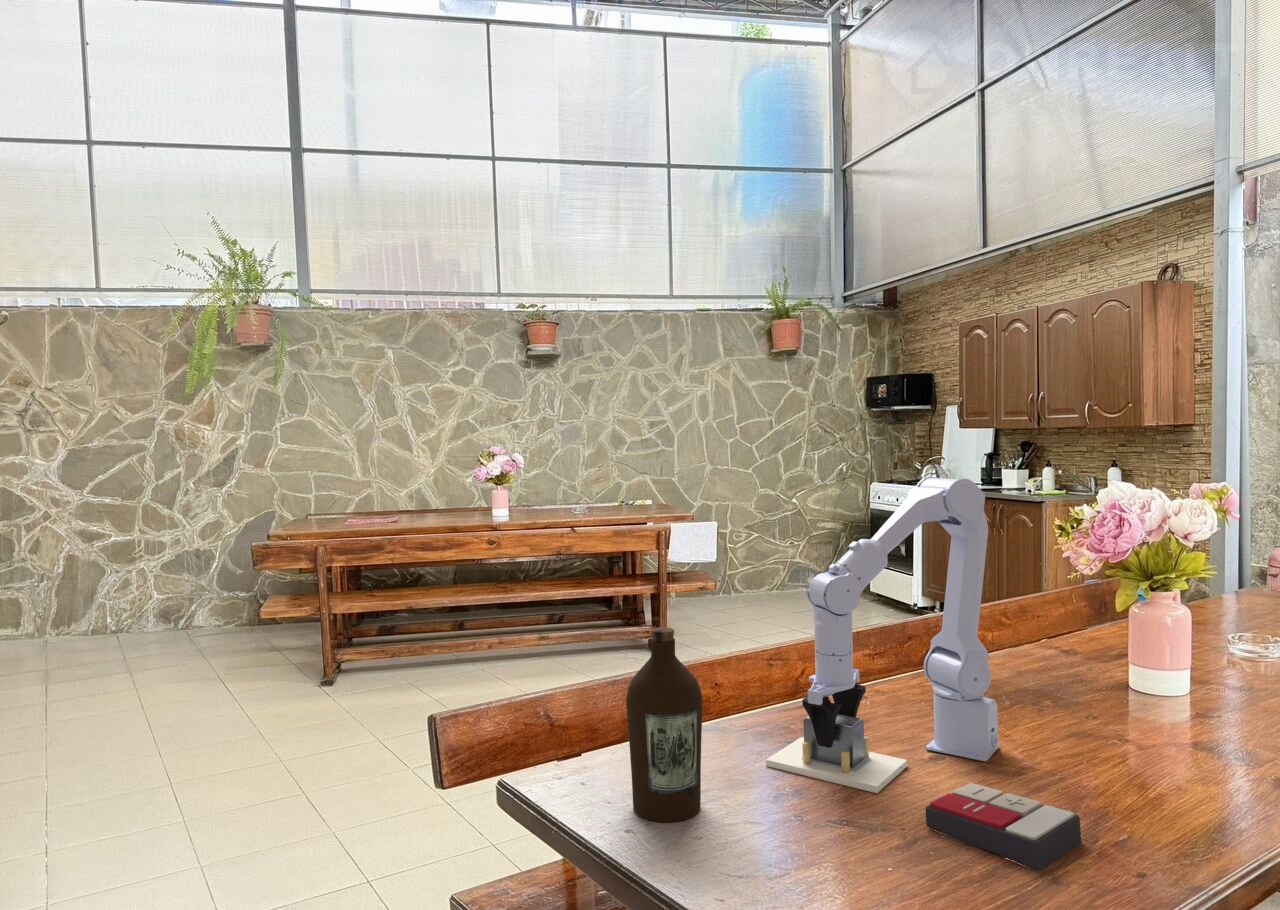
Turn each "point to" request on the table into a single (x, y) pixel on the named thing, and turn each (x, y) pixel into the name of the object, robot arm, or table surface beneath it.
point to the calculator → (1006, 825)
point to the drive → (838, 741)
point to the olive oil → (665, 734)
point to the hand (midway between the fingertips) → (835, 738)
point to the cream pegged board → (839, 766)
